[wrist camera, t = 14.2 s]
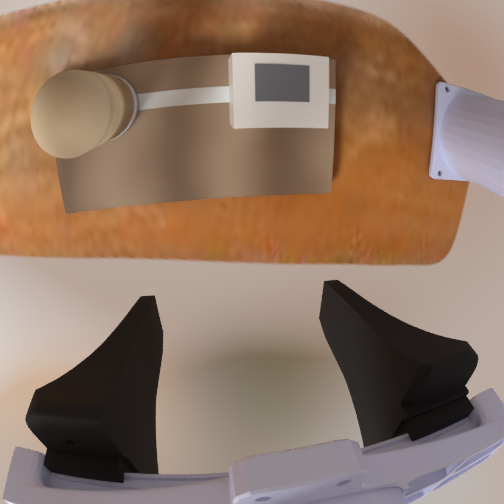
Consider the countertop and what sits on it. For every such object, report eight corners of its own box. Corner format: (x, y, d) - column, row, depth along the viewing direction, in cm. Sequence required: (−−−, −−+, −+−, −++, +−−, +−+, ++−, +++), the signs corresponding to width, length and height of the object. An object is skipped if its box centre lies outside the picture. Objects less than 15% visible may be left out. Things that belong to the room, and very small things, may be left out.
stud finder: (311, 61, 16) (329, 56, 14) (311, 123, 18) (328, 128, 16) (228, 59, 16) (232, 52, 13) (229, 124, 18) (234, 128, 15)
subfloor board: (328, 60, 18) (335, 59, 17) (325, 187, 22) (331, 193, 21) (56, 82, 16) (48, 82, 14) (72, 207, 20) (66, 213, 19)
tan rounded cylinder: (137, 69, 15) (108, 59, 10) (141, 135, 17) (114, 152, 12) (75, 82, 15) (27, 81, 10) (80, 144, 17) (35, 166, 12)
